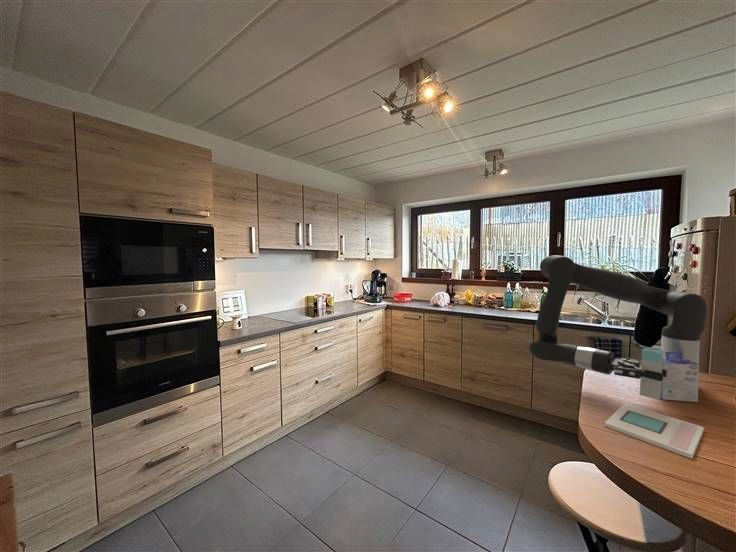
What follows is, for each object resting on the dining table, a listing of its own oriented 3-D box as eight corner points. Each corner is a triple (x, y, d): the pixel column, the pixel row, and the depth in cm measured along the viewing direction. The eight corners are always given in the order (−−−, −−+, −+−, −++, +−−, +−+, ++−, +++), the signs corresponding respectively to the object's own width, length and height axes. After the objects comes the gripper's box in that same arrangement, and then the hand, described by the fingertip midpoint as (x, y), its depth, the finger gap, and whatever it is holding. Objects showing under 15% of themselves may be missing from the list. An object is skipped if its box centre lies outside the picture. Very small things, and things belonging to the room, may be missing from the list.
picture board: (624, 406, 89) (624, 402, 89) (703, 431, 76) (704, 427, 76) (604, 426, 79) (604, 422, 79) (692, 458, 66) (692, 454, 66)
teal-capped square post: (643, 391, 91) (645, 347, 90) (661, 395, 88) (663, 350, 87) (639, 394, 89) (641, 349, 88) (658, 399, 86) (660, 353, 85)
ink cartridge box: (684, 394, 97) (686, 351, 96) (699, 402, 91) (702, 357, 90) (649, 392, 99) (651, 350, 98) (662, 400, 93) (664, 355, 92)
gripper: (586, 353, 95) (659, 368, 81) (601, 345, 103) (670, 358, 89) (585, 375, 96) (658, 395, 82) (601, 365, 104) (669, 381, 90)
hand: (664, 375), depth 86 cm, fingers closed on teal-capped square post, 4 cm apart
